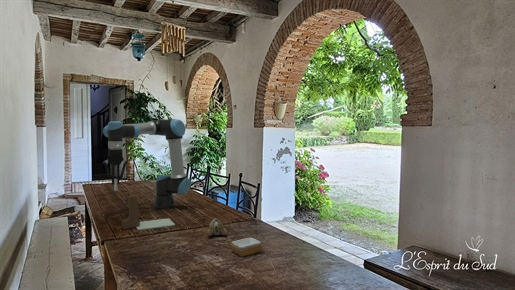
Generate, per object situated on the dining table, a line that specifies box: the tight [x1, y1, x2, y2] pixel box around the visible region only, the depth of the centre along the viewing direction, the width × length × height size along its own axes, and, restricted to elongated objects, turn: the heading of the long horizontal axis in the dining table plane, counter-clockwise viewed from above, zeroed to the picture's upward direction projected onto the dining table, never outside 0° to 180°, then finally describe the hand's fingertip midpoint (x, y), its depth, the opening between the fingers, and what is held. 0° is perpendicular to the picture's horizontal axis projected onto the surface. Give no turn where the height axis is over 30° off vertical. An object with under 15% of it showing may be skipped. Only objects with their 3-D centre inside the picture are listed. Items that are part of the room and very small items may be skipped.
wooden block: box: [121, 194, 141, 230], centre depth 188 cm, size 9×4×18 cm, turn 120°
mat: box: [135, 218, 176, 231], centre depth 195 cm, size 21×15×1 cm
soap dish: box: [229, 237, 263, 258], centre depth 153 cm, size 12×10×5 cm
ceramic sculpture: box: [206, 217, 228, 237], centre depth 178 cm, size 11×9×15 cm
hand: (115, 190), depth 183 cm, fingers closed
